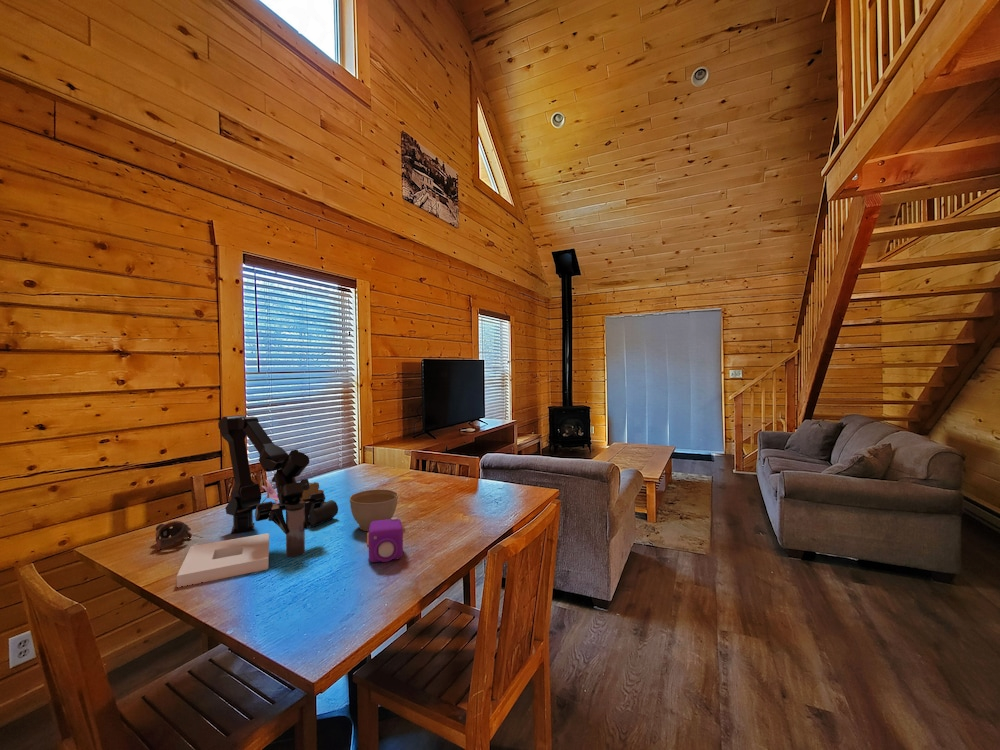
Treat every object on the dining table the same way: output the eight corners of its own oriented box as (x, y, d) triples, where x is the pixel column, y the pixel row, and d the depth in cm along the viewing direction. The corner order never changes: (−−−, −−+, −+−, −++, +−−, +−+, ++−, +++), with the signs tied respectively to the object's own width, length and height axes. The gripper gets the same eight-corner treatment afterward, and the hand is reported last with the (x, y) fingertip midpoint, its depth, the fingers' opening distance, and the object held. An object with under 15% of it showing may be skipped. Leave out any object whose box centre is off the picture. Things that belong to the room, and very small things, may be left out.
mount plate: (191, 556, 120) (191, 546, 120) (269, 542, 130) (269, 532, 130) (176, 587, 103) (176, 575, 103) (268, 568, 113) (268, 558, 113)
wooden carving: (314, 501, 171) (314, 477, 171) (324, 501, 170) (324, 477, 170) (288, 515, 155) (288, 488, 155) (300, 515, 154) (299, 489, 154)
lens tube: (285, 552, 123) (284, 502, 123) (305, 548, 126) (304, 499, 126) (285, 559, 118) (285, 507, 118) (306, 555, 121) (305, 504, 121)
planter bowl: (361, 540, 131) (361, 506, 131) (342, 526, 144) (342, 495, 144) (406, 527, 142) (406, 496, 142) (385, 515, 154) (385, 486, 154)
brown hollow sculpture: (202, 539, 134) (196, 522, 130) (174, 564, 126) (167, 546, 122) (172, 528, 136) (165, 510, 132) (143, 551, 128) (135, 533, 124)
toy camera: (371, 572, 111) (371, 535, 110) (363, 552, 123) (363, 519, 123) (411, 563, 116) (410, 528, 115) (399, 545, 128) (399, 513, 128)
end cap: (317, 528, 141) (316, 509, 141) (301, 526, 144) (301, 506, 144) (338, 519, 151) (338, 500, 151) (323, 516, 153) (323, 498, 153)
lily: (265, 514, 158) (279, 491, 160) (242, 501, 161) (255, 478, 163) (283, 514, 170) (296, 492, 172) (261, 501, 172) (274, 480, 174)
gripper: (256, 476, 119) (264, 525, 110) (323, 466, 131) (335, 509, 123) (251, 497, 125) (259, 545, 116) (315, 486, 137) (326, 528, 129)
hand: (296, 531), depth 121 cm, fingers closed on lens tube, 5 cm apart
